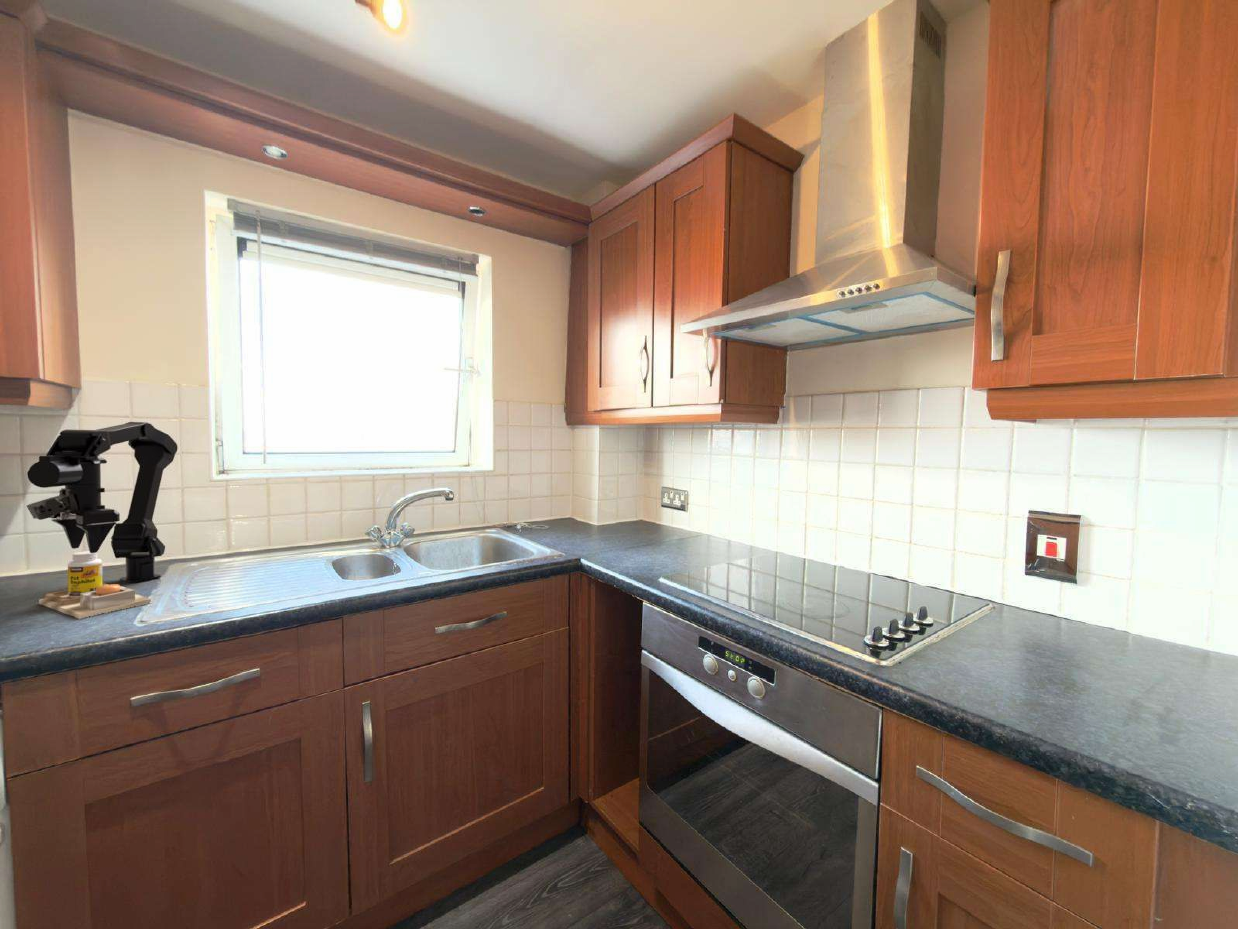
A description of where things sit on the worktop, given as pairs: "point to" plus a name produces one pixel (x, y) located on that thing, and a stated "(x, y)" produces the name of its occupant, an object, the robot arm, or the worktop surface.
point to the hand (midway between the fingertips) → (84, 550)
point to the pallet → (92, 602)
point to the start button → (107, 589)
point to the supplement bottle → (84, 573)
